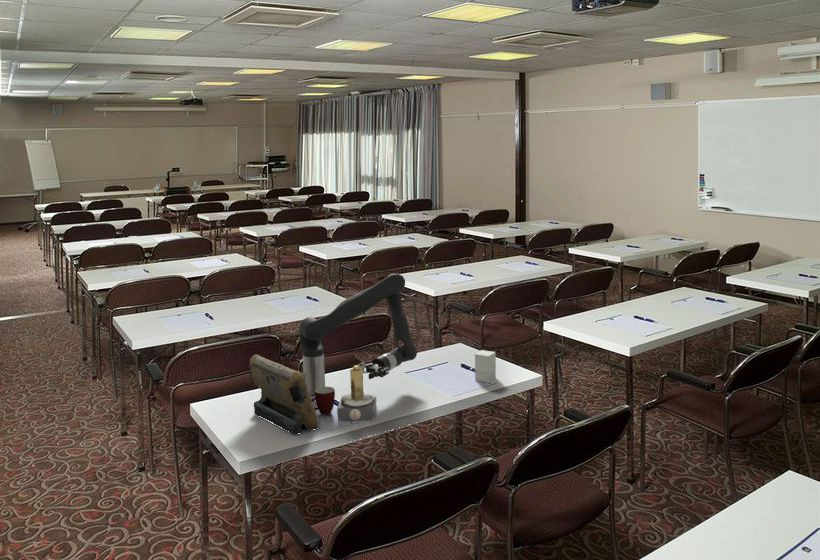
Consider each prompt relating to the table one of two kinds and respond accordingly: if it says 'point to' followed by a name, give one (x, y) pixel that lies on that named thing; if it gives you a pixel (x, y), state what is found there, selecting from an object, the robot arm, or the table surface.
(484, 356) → the supplement box
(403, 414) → the table surface
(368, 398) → the scale platter
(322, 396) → the mug
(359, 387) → the calibration weight
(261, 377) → the tablet
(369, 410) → the scale housing
